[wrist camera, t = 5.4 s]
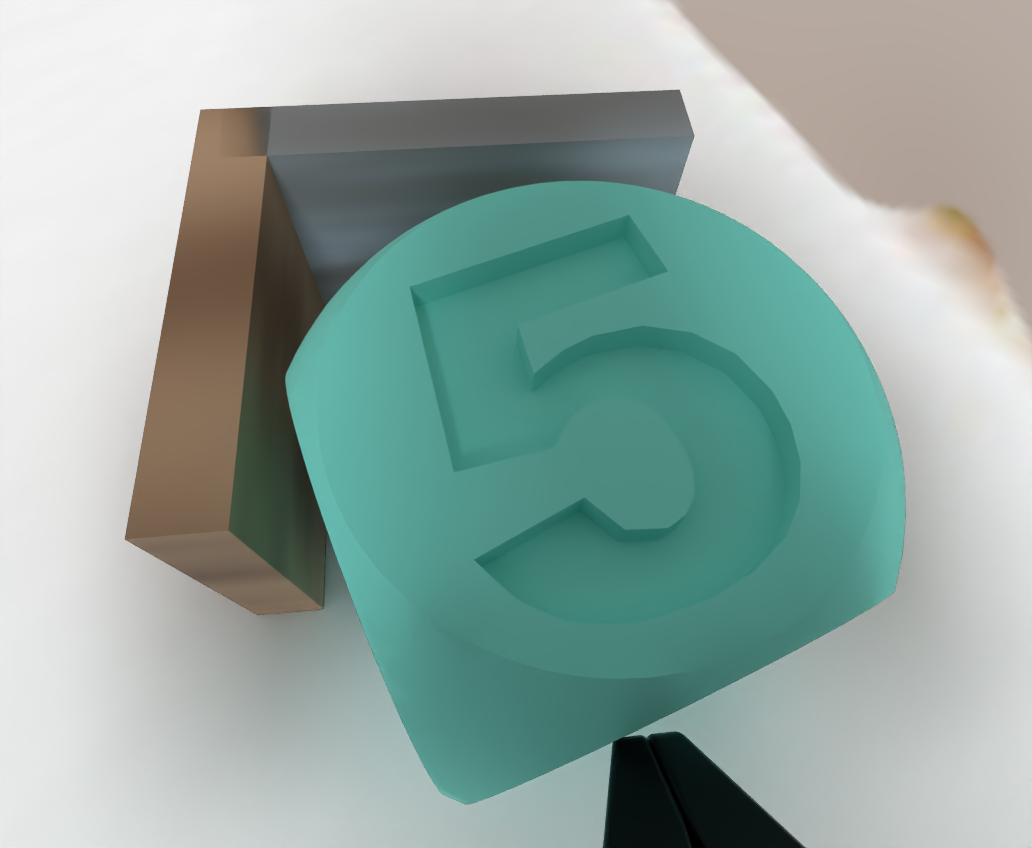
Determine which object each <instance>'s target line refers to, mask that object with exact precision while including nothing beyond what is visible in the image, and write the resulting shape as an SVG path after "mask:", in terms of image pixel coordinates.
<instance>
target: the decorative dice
mask: <svg viewBox="0 0 1032 848" xmlns="http://www.w3.org/2000/svg"><path fill="white" fill-rule="evenodd" d="M285 383H286V391H287V397H288V401H289V406H290V410H291V415H292V419H293V423H294V426H295V430H296V434H297V437H298V441H299V445H300V448H301V451H302V455H303V458H304V461H305V465H306V468H307V471H308V474H309V478H310V481H311V484H312V487H313V490H314V493H315V496H316V499H317V502H318V505H319V508H320V511H321V514H322V517H323V520H324V523H325V526H326V529H327V532H328V535H329V537H330V540H331V543H332V546H333V549H334V552H335V554H336V557H337V560H338V563H339V565H340V568H341V571H342V574H343V576H344V579H345V582H346V585H347V587H348V590H349V593H350V595H351V598H352V600H353V603H354V606H355V608H356V611H357V614H358V616H359V619H360V621H361V624H362V626H363V629H364V632H365V634H366V637H367V639H368V642H369V644H370V647H371V649H372V652H373V654H374V656H375V659H376V661H377V664H378V666H379V669H380V671H381V674H382V676H383V678H384V681H385V683H386V685H387V688H388V690H389V692H390V695H391V697H392V699H393V702H394V704H395V706H396V708H397V711H398V713H399V715H400V717H401V720H402V722H403V724H404V726H405V728H406V731H407V733H408V735H409V737H410V739H411V741H412V743H413V745H414V747H415V749H416V751H417V753H418V755H419V757H420V759H421V761H422V763H423V765H424V767H425V769H426V771H427V772H428V774H429V776H430V777H431V779H432V781H433V782H434V784H435V785H436V787H437V788H438V789H439V791H440V792H441V793H442V794H443V795H445V796H448V797H450V798H452V799H454V800H457V801H459V802H461V803H463V804H472V803H475V802H478V801H481V800H484V799H486V798H489V797H492V796H494V795H497V794H499V793H502V792H504V791H506V790H509V789H511V788H513V787H516V786H518V785H520V784H523V783H525V782H527V781H530V780H532V779H534V778H536V777H539V776H541V775H543V774H545V773H547V772H550V771H552V770H554V769H556V768H558V767H561V766H563V765H565V764H567V763H569V762H571V761H574V760H576V759H578V758H580V757H582V756H584V755H586V754H589V753H591V752H593V751H595V750H597V749H599V748H601V747H603V746H606V745H608V744H610V743H612V742H614V741H616V740H618V739H620V738H622V737H624V736H626V735H628V734H631V733H633V732H635V731H637V730H639V729H641V728H643V727H645V726H647V725H649V724H651V723H653V722H655V721H657V720H659V719H661V718H663V717H665V716H667V715H669V714H672V713H674V712H676V711H678V710H680V709H682V708H684V707H686V706H688V705H690V704H692V703H694V702H696V701H698V700H700V699H702V698H704V697H706V696H708V695H710V694H712V693H714V692H716V691H717V690H719V689H721V688H723V687H725V686H727V685H729V684H731V683H733V682H735V681H737V680H739V679H741V678H743V677H745V676H747V675H749V674H751V673H753V672H755V671H757V670H759V669H760V668H762V667H764V666H766V665H768V664H770V663H772V662H774V661H776V660H778V659H780V658H782V657H783V656H785V655H787V654H789V653H791V652H793V651H795V650H797V649H798V648H800V647H802V646H804V645H806V644H808V643H810V642H811V641H813V640H815V639H817V638H819V637H821V636H823V635H824V634H826V633H828V632H830V631H832V630H833V629H835V628H837V627H839V626H841V625H842V624H844V623H846V622H848V621H850V620H851V619H853V618H855V617H856V616H858V615H860V614H862V613H863V612H865V611H867V610H868V609H870V608H872V607H873V606H875V605H877V604H878V603H880V602H881V601H883V600H884V599H886V598H887V597H889V596H890V595H891V594H892V593H894V592H895V588H896V583H897V578H898V573H899V568H900V563H901V559H902V554H903V542H904V530H905V518H906V508H905V481H904V468H903V461H902V454H901V449H900V443H899V438H898V434H897V431H896V427H895V423H894V419H893V416H892V413H891V410H890V407H889V404H888V401H887V398H886V395H885V393H884V390H883V388H882V385H881V383H880V380H879V378H878V376H877V374H876V372H875V369H874V367H873V365H872V363H871V361H870V359H869V357H868V355H867V353H866V352H865V350H864V348H863V346H862V344H861V343H860V341H859V339H858V338H857V336H856V334H855V333H854V331H853V329H852V328H851V326H850V325H849V323H848V322H847V320H846V319H845V318H844V316H843V315H842V313H841V312H840V311H839V309H838V308H837V307H836V305H835V304H834V303H833V301H832V300H831V299H830V298H829V297H828V295H827V294H826V293H825V292H824V291H823V290H822V289H821V287H820V286H819V285H818V284H817V283H816V282H815V281H814V280H813V279H812V278H811V277H810V276H809V275H808V274H807V273H806V272H805V271H804V270H803V269H801V268H800V267H799V266H798V265H797V264H796V263H795V262H794V261H792V260H791V259H790V258H789V257H788V256H787V255H786V254H784V253H783V252H782V251H781V250H779V249H778V248H777V247H775V246H774V245H773V244H772V243H770V242H769V241H767V240H766V239H764V238H763V237H762V236H760V235H759V234H757V233H756V232H754V231H752V230H751V229H749V228H747V227H746V226H744V225H742V224H741V223H739V222H737V221H735V220H733V219H731V218H730V217H728V216H726V215H724V214H722V213H720V212H717V211H715V210H713V209H711V208H709V207H706V206H704V205H701V204H699V203H696V202H694V201H691V200H688V199H685V198H682V197H679V196H676V195H673V194H669V193H666V192H662V191H658V190H654V189H650V188H645V187H640V186H635V185H628V184H622V183H613V182H603V181H558V182H547V183H537V184H531V185H525V186H519V187H514V188H510V189H505V190H501V191H498V192H494V193H490V194H486V195H483V196H480V197H477V198H474V199H471V200H469V201H466V202H463V203H461V204H459V205H456V206H454V207H451V208H449V209H447V210H444V211H442V212H441V213H439V214H437V215H435V216H433V217H431V218H429V219H427V220H425V221H423V222H421V223H420V224H418V225H416V226H415V227H413V228H411V229H410V230H408V231H406V232H405V233H403V234H402V235H401V236H399V237H398V238H396V239H395V240H393V241H392V242H390V243H389V244H388V245H386V246H385V247H384V248H383V249H381V250H380V251H379V252H378V253H377V254H375V255H374V256H373V257H372V258H370V259H369V260H368V261H367V262H366V263H365V264H364V265H363V266H362V267H361V268H360V269H359V270H358V271H357V272H356V273H355V274H354V275H353V276H352V277H351V278H350V279H349V280H348V281H347V282H346V283H345V284H344V285H343V286H342V287H341V288H340V290H339V291H338V292H337V293H336V294H335V295H334V296H333V298H332V299H331V300H330V301H329V302H328V304H327V305H326V307H325V308H324V309H323V311H322V312H321V314H320V315H319V316H318V318H317V319H316V321H315V322H314V324H313V325H312V327H311V328H310V330H309V332H308V333H307V335H306V336H305V338H304V340H303V341H302V343H301V345H300V347H299V348H298V350H297V352H296V354H295V356H294V358H293V360H292V362H291V364H290V366H289V369H288V371H287V373H286V376H285Z"/></svg>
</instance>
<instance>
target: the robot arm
mask: <svg viewBox="0 0 1032 848" xmlns="http://www.w3.org/2000/svg"><path fill="white" fill-rule="evenodd" d="M603 848H805V847H804V846H803V845H802V844H801V843H800V842H799V841H798V840H797V839H795V838H794V837H793V836H792V835H791V834H790V833H789V832H788V831H787V830H786V829H785V828H784V827H783V826H781V825H780V824H779V823H778V822H777V821H776V820H775V819H774V818H773V817H772V816H771V815H770V814H769V813H767V812H766V811H765V810H764V809H763V808H762V807H761V806H760V805H759V804H758V803H757V802H756V801H754V800H753V799H752V798H751V797H750V796H749V795H748V794H747V793H746V792H745V791H744V790H743V789H742V788H740V787H739V786H738V785H737V784H736V783H735V782H734V781H733V780H732V779H731V778H730V777H729V776H728V775H726V774H725V773H724V772H723V771H722V770H721V769H720V768H719V767H718V766H717V765H716V764H715V763H713V762H712V761H711V760H710V759H709V758H708V757H707V756H706V755H705V754H704V753H703V752H702V751H701V750H699V749H698V748H697V747H696V746H695V745H694V744H693V743H692V742H691V741H690V740H689V739H688V738H687V737H685V736H684V735H683V734H681V733H679V732H666V733H657V734H651V735H649V736H648V737H647V738H646V737H644V736H642V735H639V736H630V737H622V738H620V739H618V740H616V741H614V742H613V746H612V756H611V766H610V777H609V788H608V799H607V809H606V820H605V831H604V841H603Z"/></svg>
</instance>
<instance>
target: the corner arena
mask: <svg viewBox="0 0 1032 848" xmlns="http://www.w3.org/2000/svg"><path fill="white" fill-rule="evenodd" d="M693 138H694V133H693V130H692V127H691V124H690V121H689V118H688V114H687V111H686V108H685V105H684V102H683V99H682V96H681V93H680V90H663V91H639V92H614V93H590V94H566V95H542V96H518V97H494V98H470V99H446V100H422V101H398V102H374V103H350V104H326V105H302V106H277V107H253V108H229V109H205V110H200V116H199V121H198V127H197V133H196V138H195V144H194V150H193V155H192V161H191V167H190V172H189V178H188V184H187V189H186V195H185V201H184V206H183V212H182V218H181V223H180V229H179V235H178V240H177V246H176V252H175V257H174V263H173V269H172V274H171V280H170V286H169V291H168V297H167V303H166V308H165V314H164V320H163V325H162V331H161V337H160V342H159V348H158V354H157V359H156V365H155V371H154V376H153V382H152V388H151V393H150V399H149V405H148V410H147V416H146V422H145V427H144V433H143V439H142V444H141V450H140V456H139V461H138V467H137V473H136V478H135V484H134V490H133V495H132V501H131V507H130V512H129V518H128V524H127V529H126V535H125V540H127V541H128V542H130V543H132V544H134V545H135V546H137V547H139V548H141V549H142V550H144V551H146V552H148V553H149V554H151V555H153V556H155V557H156V558H158V559H160V560H162V561H164V562H165V563H167V564H169V565H171V566H172V567H174V568H176V569H178V570H179V571H181V572H183V573H185V574H186V575H188V576H190V577H192V578H193V579H195V580H197V581H199V582H200V583H202V584H204V585H206V586H207V587H209V588H211V589H213V590H214V591H216V592H218V593H220V594H221V595H223V596H225V597H227V598H228V599H230V600H232V601H234V602H235V603H237V604H239V605H241V606H242V607H244V608H246V609H248V610H249V611H251V612H253V613H255V614H256V615H264V614H275V613H285V612H296V611H307V610H317V609H323V606H324V575H325V545H326V526H325V523H324V520H323V517H322V514H321V511H320V508H319V505H318V502H317V499H316V496H315V493H314V490H313V487H312V484H311V481H310V478H309V474H308V471H307V468H306V465H305V461H304V458H303V455H302V451H301V448H300V445H299V441H298V437H297V434H296V430H295V426H294V423H293V419H292V415H291V410H290V406H289V401H288V397H287V391H286V383H285V376H286V373H287V371H288V369H289V366H290V364H291V362H292V360H293V358H294V356H295V354H296V352H297V350H298V348H299V347H300V345H301V343H302V341H303V340H304V338H305V336H306V335H307V333H308V332H309V330H310V328H311V327H312V325H313V324H314V322H315V321H316V319H317V318H318V316H319V315H320V314H321V312H322V311H323V309H324V308H325V307H326V305H327V304H328V302H329V301H330V300H331V299H332V298H333V296H334V295H335V294H336V293H337V292H338V291H339V290H340V288H341V287H342V286H343V285H344V284H345V283H346V282H347V281H348V280H349V279H350V278H351V277H352V276H353V275H354V274H355V273H356V272H357V271H358V270H359V269H360V268H361V267H362V266H363V265H364V264H365V263H366V262H367V261H368V260H369V259H370V258H372V257H373V256H374V255H375V254H377V253H378V252H379V251H380V250H381V249H383V248H384V247H385V246H386V245H388V244H389V243H390V242H392V241H393V240H395V239H396V238H398V237H399V236H401V235H402V234H403V233H405V232H406V231H408V230H410V229H411V228H413V227H415V226H416V225H418V224H420V223H421V222H423V221H425V220H427V219H429V218H431V217H433V216H435V215H437V214H439V213H441V212H442V211H444V210H447V209H449V208H451V207H454V206H456V205H459V204H461V203H463V202H466V201H469V200H471V199H474V198H477V197H480V196H483V195H486V194H490V193H494V192H498V191H501V190H505V189H510V188H514V187H519V186H525V185H531V184H537V183H547V182H558V181H603V182H613V183H622V184H628V185H635V186H640V187H645V188H650V189H654V190H658V191H662V192H666V193H669V194H673V195H675V194H676V191H677V188H678V185H679V182H680V179H681V176H682V173H683V169H684V166H685V163H686V160H687V157H688V154H689V151H690V148H691V145H692V142H693Z"/></svg>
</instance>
